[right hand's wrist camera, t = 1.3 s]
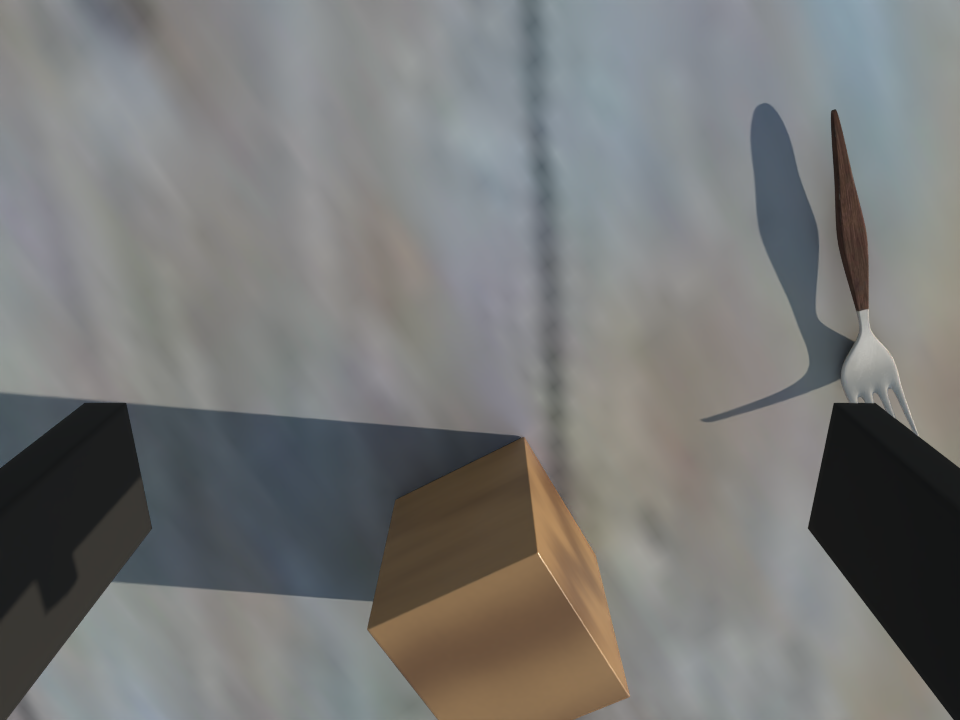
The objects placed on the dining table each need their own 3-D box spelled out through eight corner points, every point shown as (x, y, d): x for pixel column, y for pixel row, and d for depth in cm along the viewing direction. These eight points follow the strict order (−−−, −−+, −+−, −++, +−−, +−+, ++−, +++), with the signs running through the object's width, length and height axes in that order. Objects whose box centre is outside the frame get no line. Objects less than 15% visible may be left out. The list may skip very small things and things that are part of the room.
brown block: (595, 555, 37) (630, 697, 28) (473, 610, 38) (469, 761, 30) (523, 436, 34) (537, 551, 26) (394, 499, 36) (366, 629, 27)
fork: (859, 98, 28) (886, 99, 26) (901, 423, 34) (926, 442, 32) (797, 120, 29) (818, 121, 27) (848, 438, 34) (869, 457, 32)
